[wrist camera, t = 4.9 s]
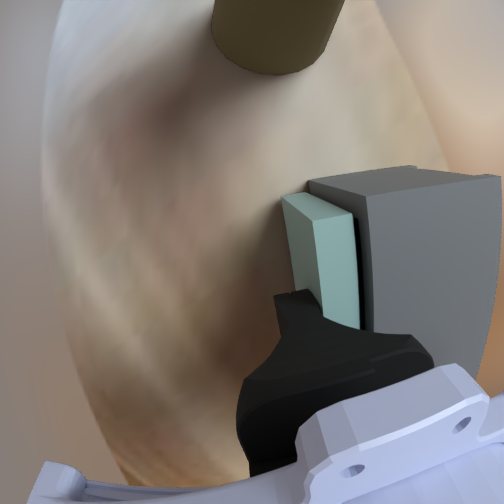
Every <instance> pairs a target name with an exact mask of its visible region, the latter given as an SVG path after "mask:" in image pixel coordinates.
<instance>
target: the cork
mask: <svg viewBox="0 0 504 504" xmlns="http://www.w3.org/2000/svg"><path fill="white" fill-rule="evenodd" d="M344 1H345V0H215V3H214V9H213V16H212V29H211V31H212V34H213V37H214V40H215V43H216V46H217V47H218V48H219V49H220V50H221V52H222V53H223V54H224V55H225V56H226V58H227V59H229V60H231V61H232V62H234V63H235V64H237V65H238V66H240V67H242V68H244V69H247V70H250V71H253V72H256V73H260V74H272V75H283V74H288V73H293V72H298V71H300V70H302V69H304V68H306V67H307V66H309V65H311V64H313V63H314V62H315V61H316V60H317V59H318V58H319V57H320V55H321V54H322V53H323V52H324V50H325V47H326V45H327V43H328V40H329V38H330V35H331V33H332V30H333V28H334V25H335V23H336V21H337V18H338V16H339V13H340V11H341V8H342V6H343V4H344Z"/></svg>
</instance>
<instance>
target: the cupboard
mask: <svg viewBox="0 0 504 504" xmlns="http://www.w3.org/2000/svg"><path fill="white" fill-rule="evenodd" d="M308 183H309V189H310V194H311V195H313V196H315V197H318V198H320V199H322V200H324V201H326V202H329V203H331V204H333V205H335V206H337V207H339V208H341V209H344V210H346V211H348V212H350V213H352V217H353V226H354V236H355V248H356V260H357V275H358V294H359V324H360V330H364V331H370V332H377V333H385V334H411V335H412V336H413V337H415V338H416V339H417V340H418V341H419V342H420V343H421V344H422V346H423V347H424V348H425V349H426V350H427V351H428V353H429V354H430V355H431V356H432V358H433V361H434V368H435V367H439V366H444V365H448V364H453V363H456V364H458V365H459V366H461V367H462V368H463V369H465V370H466V371H467V373H468V374H469V375H470V376H471V377H472V378H473V379H474V380H476V377H477V374H478V370H479V367H480V363H481V359H482V356H483V352H484V349H485V344H486V340H487V336H488V331H489V327H490V322H491V317H492V312H493V306H494V301H495V294H496V287H497V279H498V270H499V262H500V249H501V230H502V190H501V176H496V175H489V174H484V175H475V176H473V175H466V174H459V173H452V172H444V171H435V170H426V169H417V166H410V165H408V166H400V167H392V168H384V169H377V170H369V171H362V172H355V173H349V174H342V175H336V176H330V177H324V178H318V179H312V180H308Z"/></svg>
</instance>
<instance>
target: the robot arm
mask: <svg viewBox="0 0 504 504" xmlns="http://www.w3.org/2000/svg"><path fill="white" fill-rule="evenodd" d="M273 297H274V302H275V307H276V312H277V318H278V323H279V328H280V333H281V339H280V341H279V343H278V344H277V346H276V348H275V349H274V351H273V352H272V353H271V355H270V356H269V357H268V358H267V359H266V361H265V362H264V363H263V364H262V365H261V366H260V367H259V368H257V369H256V370H255V371H254V372H252V373H251V374H250V375H249V376H247V377H246V378H245V379H244V381H243V384H242V388H241V391H240V395H239V399H238V405H237V412H236V430H237V435H238V439H239V441H240V444H241V446H242V448H243V451H244V453H245V455H246V457H247V460H248V462H249V471H250V478H247V479H244V480H240V481H237V482H233V483H229V484H225V485H221V486H217V487H195V488H167V487H144V486H131V485H121V484H111V483H105V482H98V481H91V480H87V479H86V478H85V477H84V476H83V474H82V473H81V472H80V471H78V470H77V469H76V468H74V467H72V466H70V465H66V464H61V463H56V462H52V461H45V463H44V465H43V467H42V469H41V471H40V473H39V476H38V478H37V480H36V482H35V485H34V487H33V489H32V492H31V494H30V496H29V499H28V502H27V504H504V391H503V392H501V393H500V394H499V395H497V396H495V397H493V398H490V397H489V396H488V395H487V394H486V393H485V392H484V391H483V389H482V388H481V387H480V386H479V385H478V384H477V383H476V381H475V380H474V379H473V378H472V377H471V376H470V375H469V374H468V373H467V371H466V370H465V369H463V368H462V367H461V366H459V365H458V364H456V363H453V364H448V365H444V366H439V367H435V368H434V361H433V358H432V356H431V355H430V354H429V353H428V351H427V350H426V349H425V348H424V347H423V346H422V344H421V343H420V342H419V341H418V340H417V339H416V338H415V337H413V336H412V335H411V334H385V333H377V332H370V331H364V330H360V329H356V328H352V327H348V326H345V325H342V324H340V323H337V322H335V321H332V320H330V319H328V318H325V317H324V316H322V315H321V312H320V310H319V307H318V305H317V302H316V300H315V298H314V295H313V293H312V292H311V291H310V290H309V289H307V288H306V289H302V290H298V291H293V292H292V293H291V294H290V293H284V294H279V295H275V296H273Z"/></svg>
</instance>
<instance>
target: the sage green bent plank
mask: <svg viewBox="0 0 504 504" xmlns="http://www.w3.org/2000/svg"><path fill="white" fill-rule="evenodd" d="M281 201H282V207H283V213H284V219H285V225H286V231H287V237H288V243H289V249H290V256H291V262H292V269H293V275H294V282H295V289H296V291H298V290H302V289H306V288H307V289H309V290H310V291H311V292H312V293H313V295H314V298H315V300H316V302H317V305H318V307H319V310H320V312H321V315H322V316H324V317H325V318H328V319H330V320H332V321H335V322H337V323H340V324H342V325H345V326H348V327H352V328H356V329H360V324H359V294H358V275H357V260H356V248H355V236H354V226H353V217H352V213H350V212H348V211H346V210H344V209H341V208H339V207H337V206H335V205H333V204H331V203H329V202H326V201H324V200H322V199H320V198H318V197H315V196H313V195H311V194H309V193H306V192H302V193H296V194H290V195H285V196H281Z"/></svg>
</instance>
